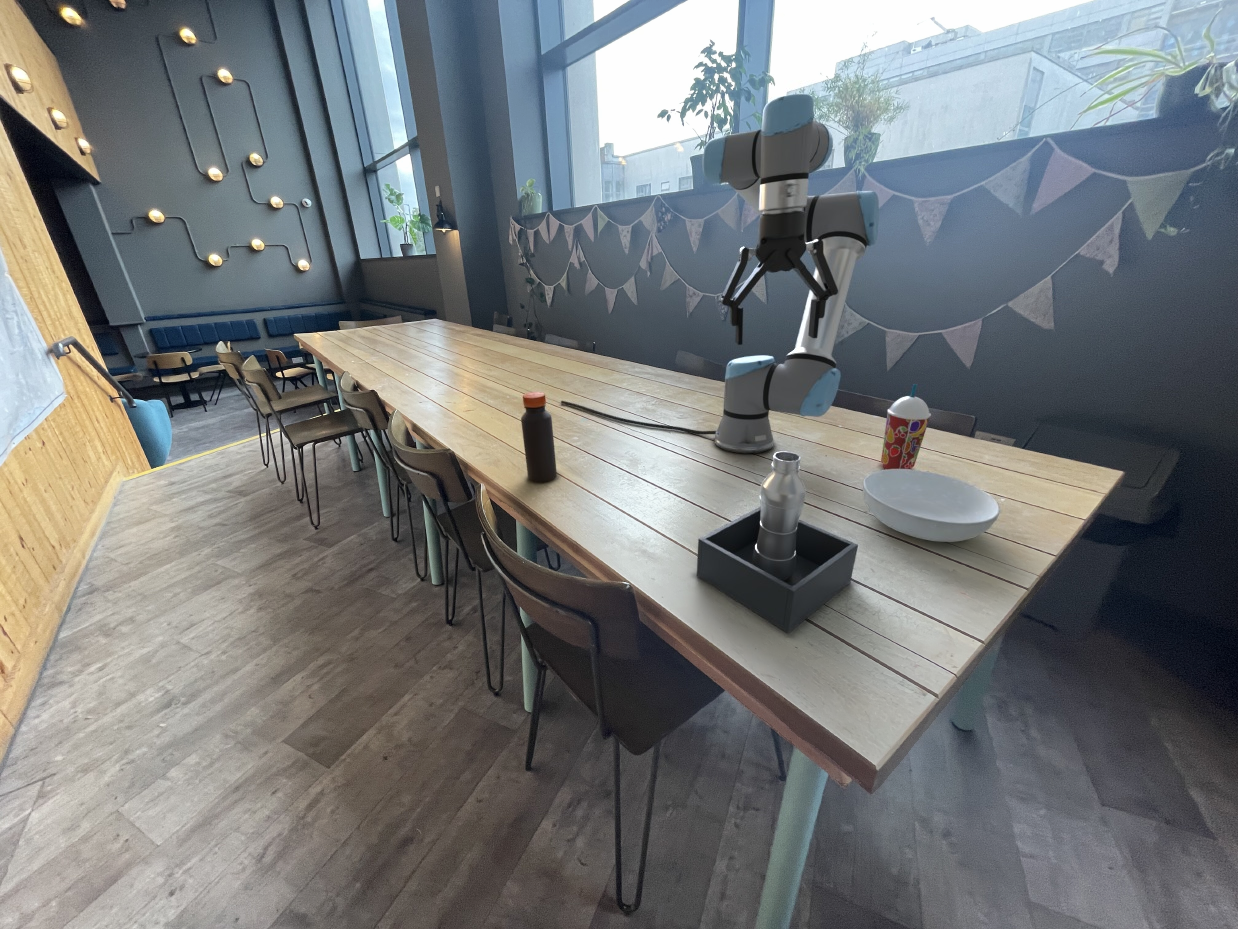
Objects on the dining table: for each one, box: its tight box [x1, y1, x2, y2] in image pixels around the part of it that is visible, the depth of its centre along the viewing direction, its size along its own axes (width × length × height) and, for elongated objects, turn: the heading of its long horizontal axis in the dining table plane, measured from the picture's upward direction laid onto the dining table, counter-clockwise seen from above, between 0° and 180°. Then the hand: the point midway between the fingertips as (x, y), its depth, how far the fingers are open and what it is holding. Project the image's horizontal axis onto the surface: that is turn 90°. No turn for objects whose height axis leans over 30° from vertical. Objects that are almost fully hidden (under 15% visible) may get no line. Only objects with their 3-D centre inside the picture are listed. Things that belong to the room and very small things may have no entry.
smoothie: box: [880, 383, 932, 470], centre depth 106 cm, size 8×8×20 cm
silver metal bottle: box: [752, 451, 807, 581], centre depth 69 cm, size 6×7×20 cm
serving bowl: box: [862, 468, 1001, 543], centre depth 85 cm, size 21×21×7 cm
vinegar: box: [520, 391, 558, 484], centre depth 107 cm, size 7×7×20 cm
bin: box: [696, 506, 859, 634], centre depth 72 cm, size 17×17×7 cm
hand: (775, 340), depth 88 cm, fingers open, 13 cm apart
